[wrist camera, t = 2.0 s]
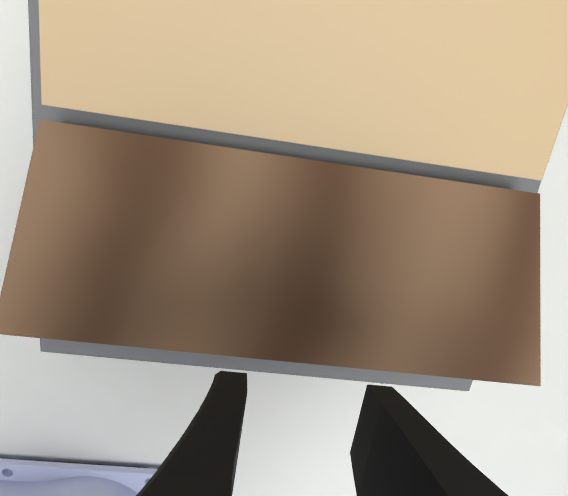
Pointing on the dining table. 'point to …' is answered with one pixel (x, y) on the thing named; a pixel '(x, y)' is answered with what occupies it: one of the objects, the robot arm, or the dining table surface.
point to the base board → (313, 96)
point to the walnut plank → (272, 258)
